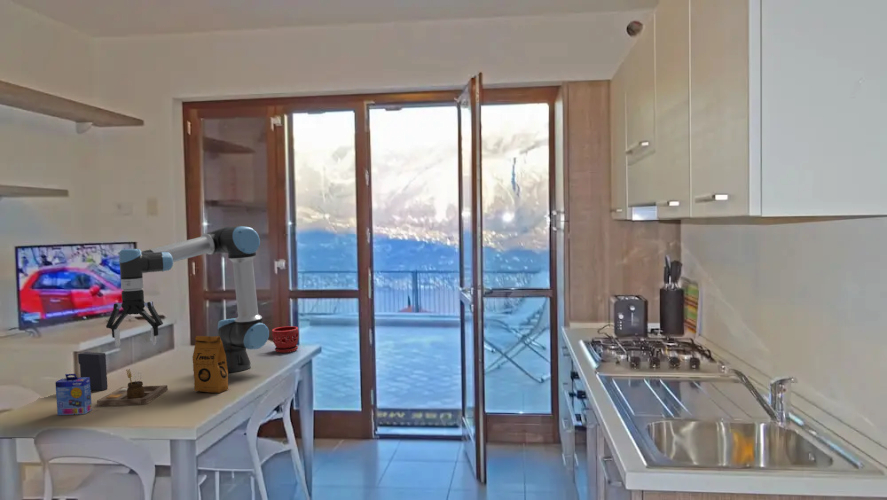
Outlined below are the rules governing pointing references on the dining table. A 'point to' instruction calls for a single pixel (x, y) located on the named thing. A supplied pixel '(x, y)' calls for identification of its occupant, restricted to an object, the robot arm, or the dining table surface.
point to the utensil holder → (135, 388)
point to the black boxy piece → (94, 369)
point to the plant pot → (285, 339)
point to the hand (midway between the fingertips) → (136, 345)
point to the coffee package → (210, 365)
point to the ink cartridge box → (73, 395)
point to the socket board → (121, 399)
